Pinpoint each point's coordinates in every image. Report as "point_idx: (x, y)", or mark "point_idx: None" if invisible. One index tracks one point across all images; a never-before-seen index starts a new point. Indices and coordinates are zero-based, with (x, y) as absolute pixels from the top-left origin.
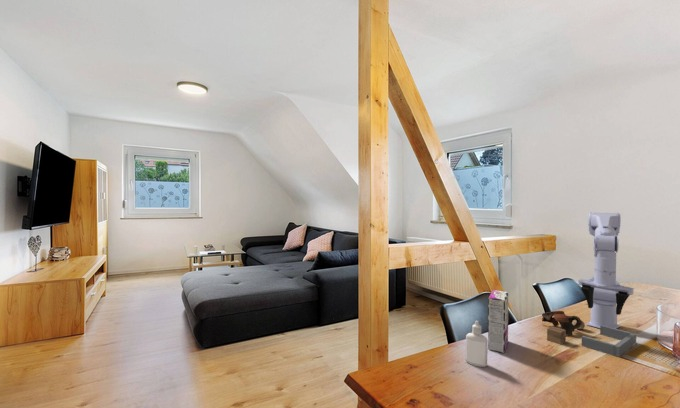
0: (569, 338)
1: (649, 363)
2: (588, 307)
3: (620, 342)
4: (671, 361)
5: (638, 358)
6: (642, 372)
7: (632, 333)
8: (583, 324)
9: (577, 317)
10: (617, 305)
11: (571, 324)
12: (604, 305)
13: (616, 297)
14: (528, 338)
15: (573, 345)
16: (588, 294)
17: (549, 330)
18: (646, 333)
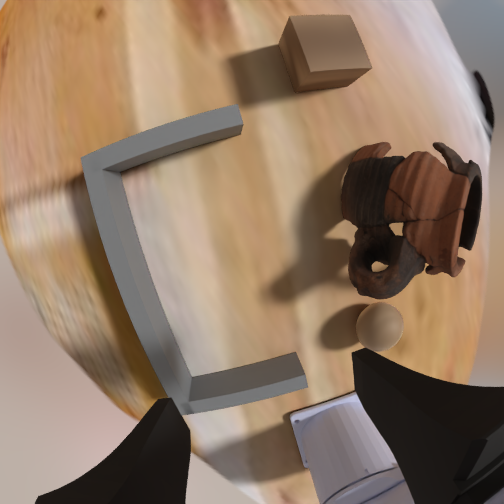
0: (317, 151)
1: (43, 227)
2: (368, 349)
3: (111, 231)
4: (47, 324)
5: (74, 235)
6: (22, 125)
7: (186, 408)
8: (362, 331)
9: (383, 282)
10: (137, 445)
11: (374, 230)
12: (349, 484)
13: (103, 501)
14: (360, 4)
15: (251, 85)
16: (432, 411)
17: (338, 17)
18: (237, 478)
